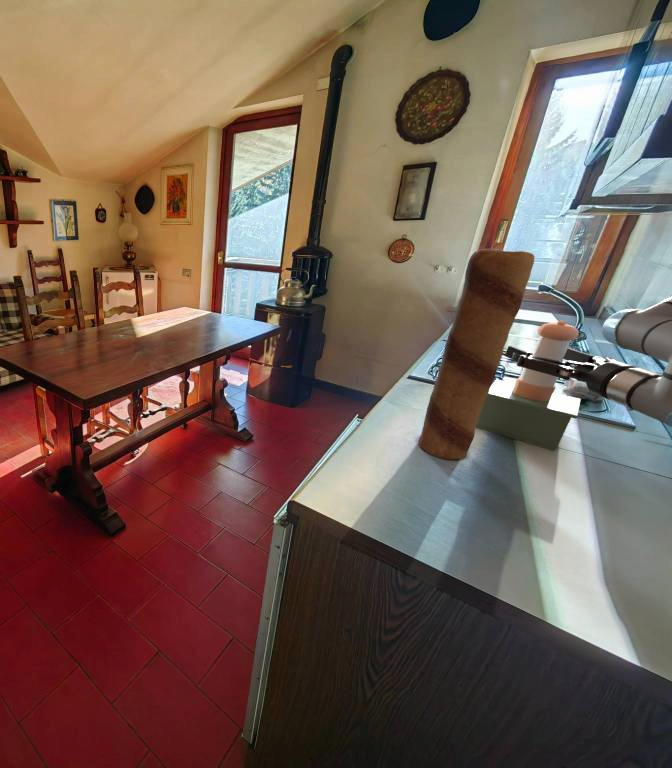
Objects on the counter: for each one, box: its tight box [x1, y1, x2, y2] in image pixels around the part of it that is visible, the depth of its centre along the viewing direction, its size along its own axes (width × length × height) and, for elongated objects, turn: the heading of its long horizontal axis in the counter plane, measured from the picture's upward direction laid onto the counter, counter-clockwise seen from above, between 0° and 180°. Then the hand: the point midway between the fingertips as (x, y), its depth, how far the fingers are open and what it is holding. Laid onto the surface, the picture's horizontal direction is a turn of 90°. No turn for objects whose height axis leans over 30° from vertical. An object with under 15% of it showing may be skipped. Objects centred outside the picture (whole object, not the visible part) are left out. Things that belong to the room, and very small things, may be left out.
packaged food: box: [562, 379, 604, 403], centre depth 122 cm, size 9×12×5 cm
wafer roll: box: [417, 248, 536, 460], centre depth 84 cm, size 10×11×45 cm
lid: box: [487, 379, 582, 420], centre depth 98 cm, size 17×14×1 cm
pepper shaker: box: [512, 320, 579, 401], centre depth 95 cm, size 7×7×19 cm
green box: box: [476, 396, 572, 452], centre depth 101 cm, size 16×14×9 cm
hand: (536, 351), depth 97 cm, fingers open, 13 cm apart
